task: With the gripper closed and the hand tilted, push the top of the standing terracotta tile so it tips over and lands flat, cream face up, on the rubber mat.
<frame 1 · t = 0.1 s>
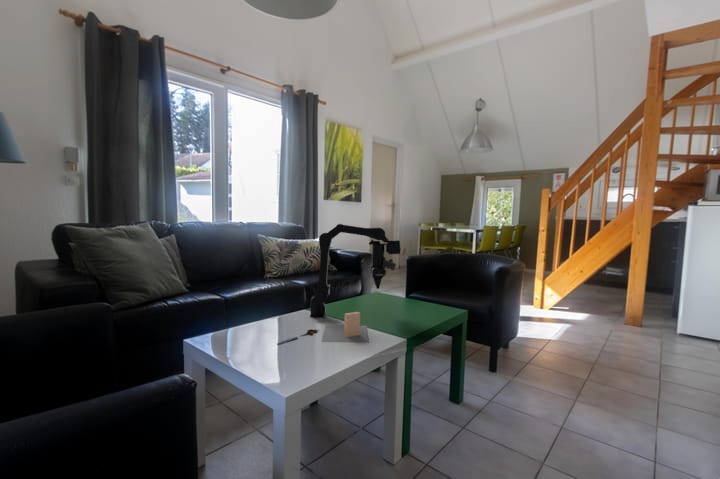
hand: (377, 286, 167), 15 cm above the table, tool pointing down, fingers open, 9 cm apart
mat: (345, 334, 142), on the table
tile: (352, 335, 140), point 1 cm above the table, touching mat
sword: (295, 341, 135), on the table
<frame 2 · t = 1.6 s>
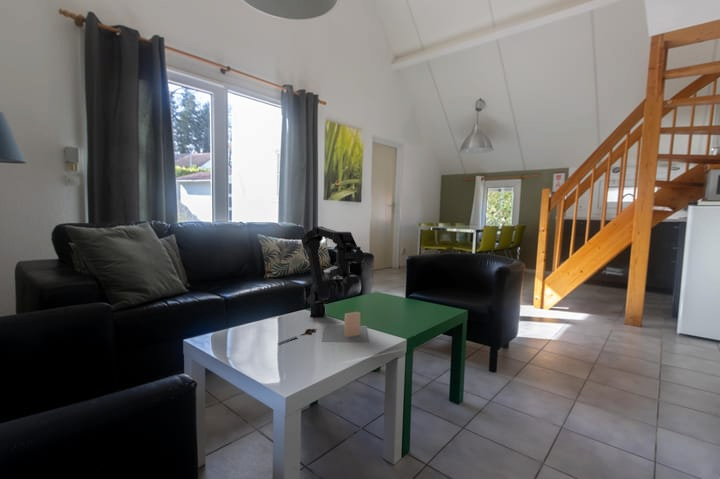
hand: (342, 296, 153), 13 cm above the table, tool pointing down, fingers open, 4 cm apart
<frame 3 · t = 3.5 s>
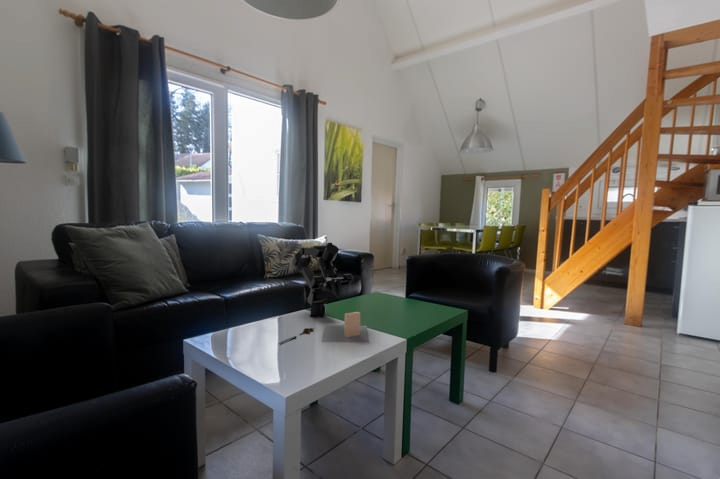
hand: (338, 297, 149), 13 cm above the table, tool tilted 45°, fingers closed
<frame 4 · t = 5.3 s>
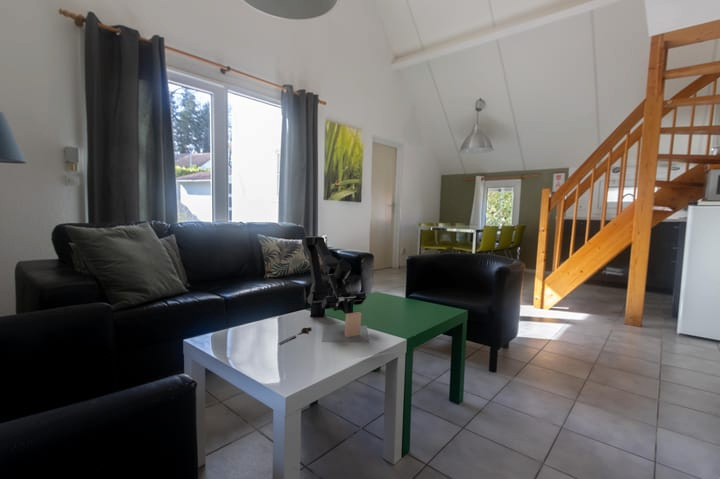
hand: (351, 318, 140), 7 cm above the table, tool tilted 45°, fingers closed, pressing on tile
tile: (352, 335, 140), point 1 cm above the table, tilted 6°, touching gripper, mat
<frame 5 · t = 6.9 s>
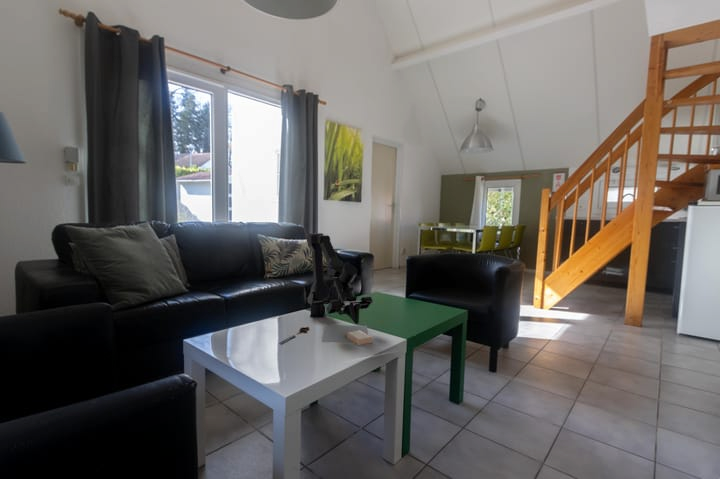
hand: (357, 323, 136), 7 cm above the table, tool tilted 45°, fingers closed
tile: (353, 333, 139), point 2 cm above the table, tilted 90°, touching mat
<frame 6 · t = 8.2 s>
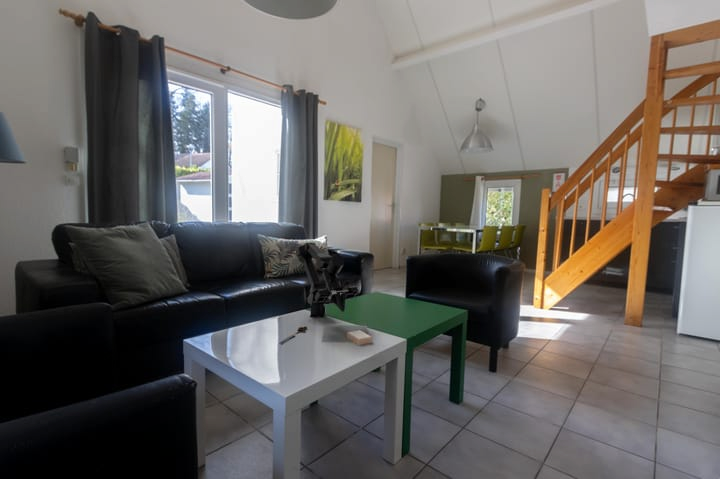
hand: (343, 311, 145), 8 cm above the table, tool tilted 45°, fingers closed
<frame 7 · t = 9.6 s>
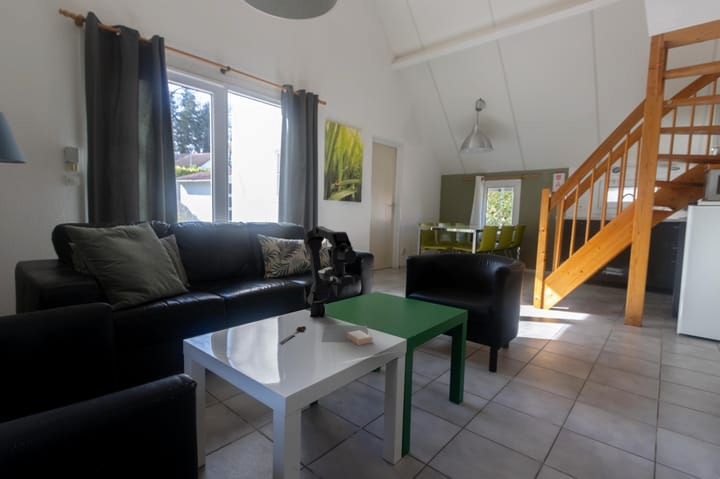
hand: (337, 296, 151), 13 cm above the table, tool pointing down, fingers closed
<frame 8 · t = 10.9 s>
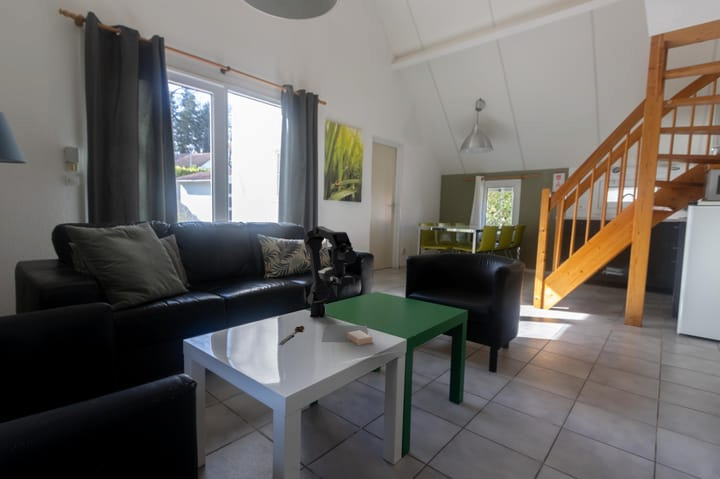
hand: (337, 297, 151), 13 cm above the table, tool pointing down, fingers closed
at the end: tile tilted 90°; tile inside the target area on the mat (4.8 cm from its centre), point 1.6 cm above the mat's base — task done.
